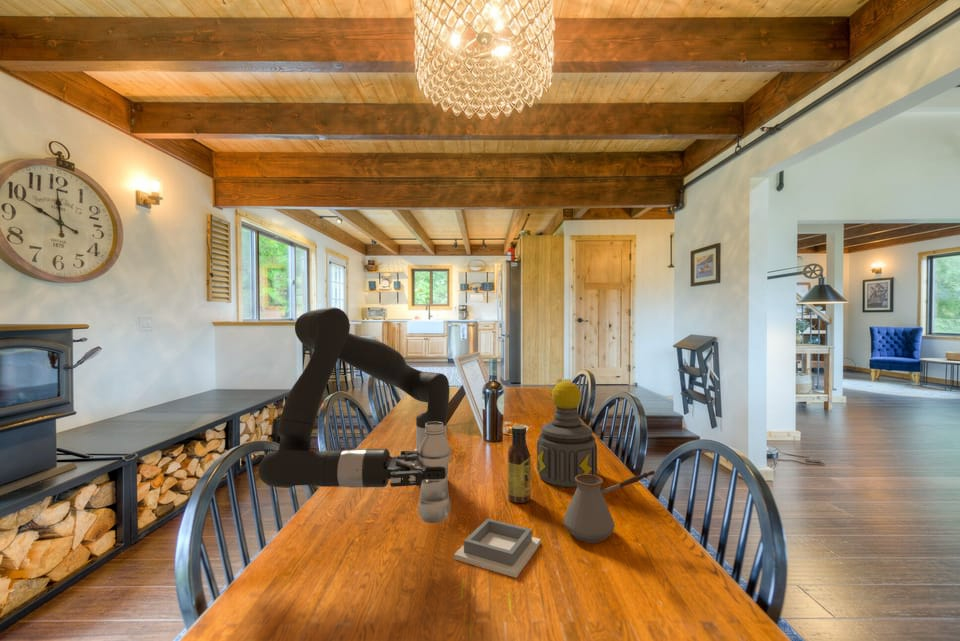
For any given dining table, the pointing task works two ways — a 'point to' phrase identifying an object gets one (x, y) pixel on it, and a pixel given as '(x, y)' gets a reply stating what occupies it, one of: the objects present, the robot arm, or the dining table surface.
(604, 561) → the dining table surface
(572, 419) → the decorative lamp
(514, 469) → the sauce bottle
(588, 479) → the coffee pot
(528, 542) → the bottle holder
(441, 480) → the plastic bottle
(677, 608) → the dining table surface
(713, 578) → the dining table surface
